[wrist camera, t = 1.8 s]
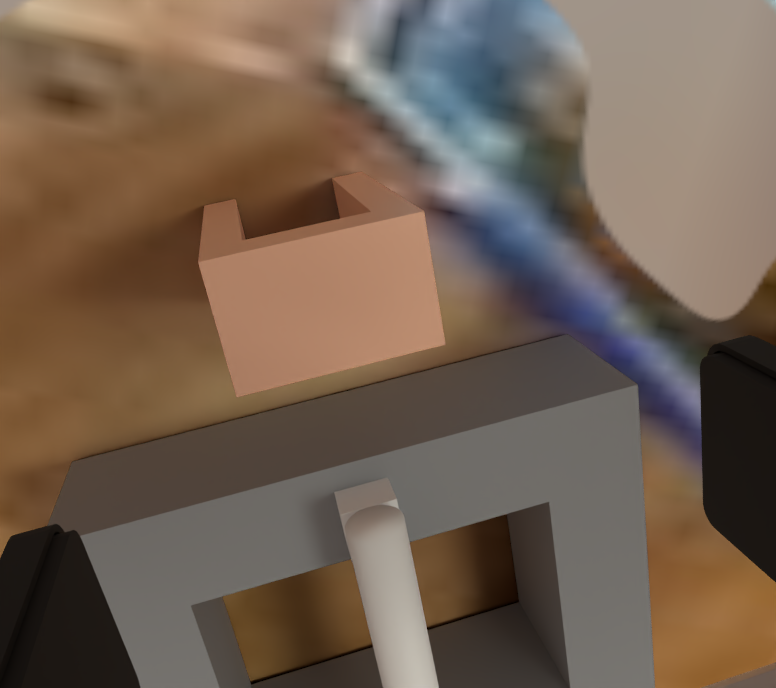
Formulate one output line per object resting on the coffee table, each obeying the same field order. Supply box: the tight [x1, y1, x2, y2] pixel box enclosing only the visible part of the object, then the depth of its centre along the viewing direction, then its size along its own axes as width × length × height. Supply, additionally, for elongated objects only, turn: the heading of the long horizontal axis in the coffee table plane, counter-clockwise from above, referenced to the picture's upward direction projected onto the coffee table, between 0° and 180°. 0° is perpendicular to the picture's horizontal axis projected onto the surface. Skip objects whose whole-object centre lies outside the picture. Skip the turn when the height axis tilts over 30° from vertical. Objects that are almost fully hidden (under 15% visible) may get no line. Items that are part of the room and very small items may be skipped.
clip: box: [198, 172, 446, 397], centre depth 25 cm, size 6×4×10 cm, turn 101°
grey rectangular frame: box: [47, 334, 655, 688], centre depth 31 cm, size 22×18×10 cm
